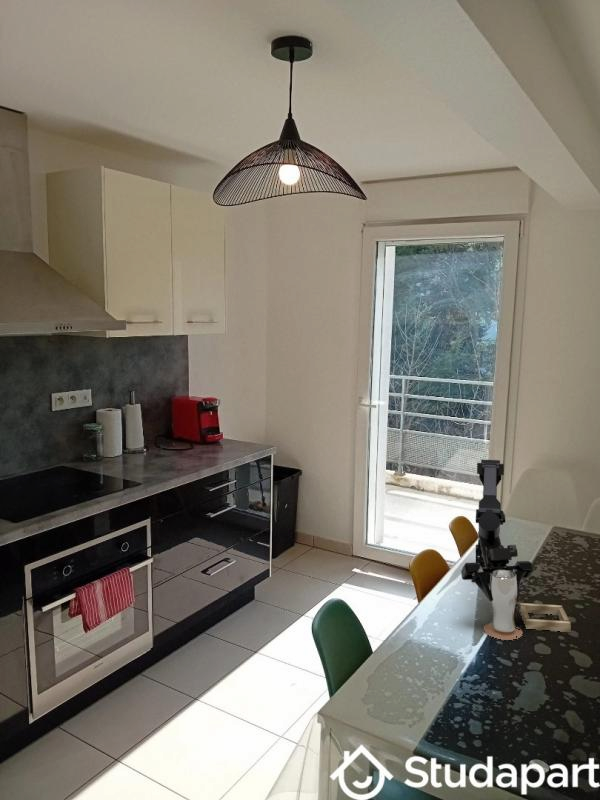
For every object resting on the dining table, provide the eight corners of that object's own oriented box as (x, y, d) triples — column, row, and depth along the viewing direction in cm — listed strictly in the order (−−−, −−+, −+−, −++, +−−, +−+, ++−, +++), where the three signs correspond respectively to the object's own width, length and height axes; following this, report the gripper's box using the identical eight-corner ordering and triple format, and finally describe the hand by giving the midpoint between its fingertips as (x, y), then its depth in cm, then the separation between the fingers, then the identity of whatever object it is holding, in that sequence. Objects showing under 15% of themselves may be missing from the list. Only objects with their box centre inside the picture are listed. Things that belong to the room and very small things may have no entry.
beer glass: (487, 630, 170) (487, 576, 168) (493, 619, 176) (492, 567, 174) (514, 635, 167) (514, 580, 165) (519, 624, 173) (519, 571, 171)
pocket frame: (526, 629, 172) (526, 620, 172) (519, 611, 183) (519, 603, 183) (570, 632, 170) (570, 623, 170) (561, 613, 181) (561, 605, 181)
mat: (485, 639, 167) (485, 638, 167) (482, 622, 177) (482, 621, 177) (525, 641, 165) (525, 640, 165) (519, 624, 175) (519, 623, 175)
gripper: (464, 534, 173) (476, 590, 164) (532, 532, 174) (547, 588, 164) (456, 552, 182) (467, 605, 172) (520, 550, 182) (535, 603, 173)
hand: (503, 600), depth 170 cm, fingers closed on beer glass, 7 cm apart
